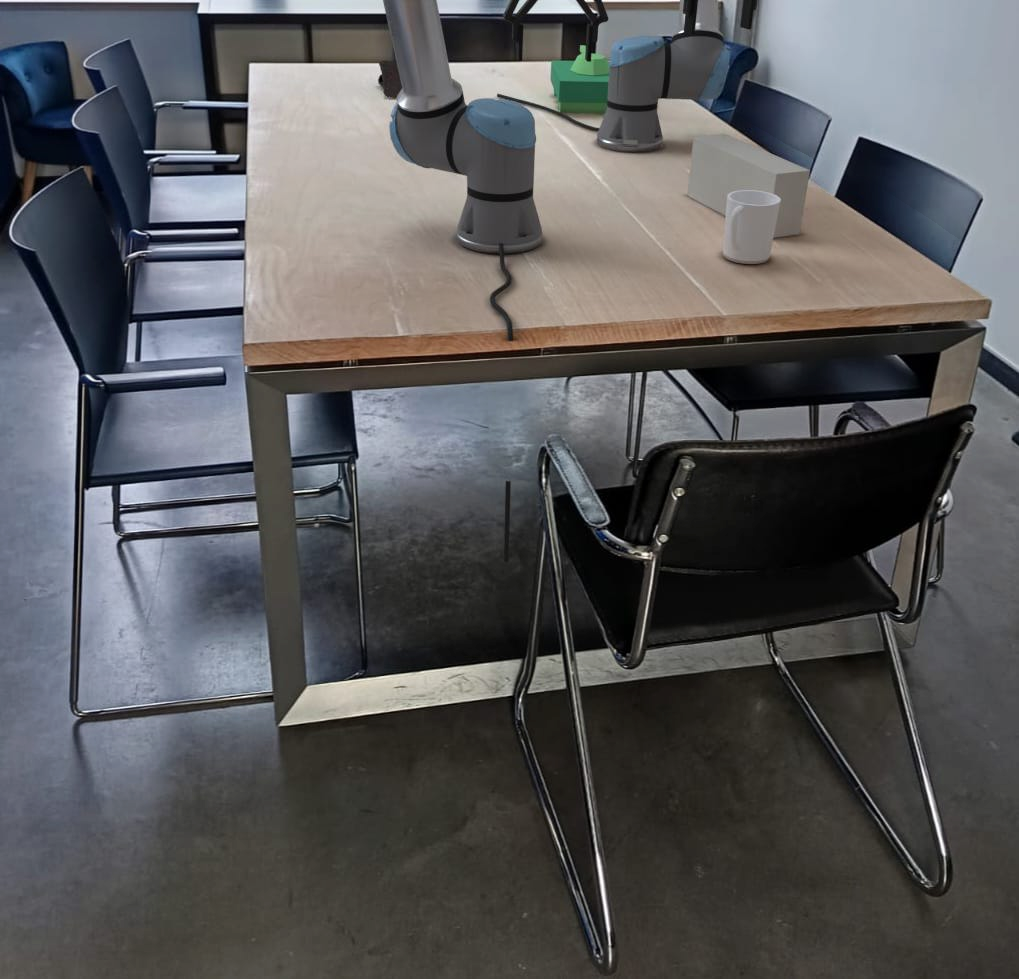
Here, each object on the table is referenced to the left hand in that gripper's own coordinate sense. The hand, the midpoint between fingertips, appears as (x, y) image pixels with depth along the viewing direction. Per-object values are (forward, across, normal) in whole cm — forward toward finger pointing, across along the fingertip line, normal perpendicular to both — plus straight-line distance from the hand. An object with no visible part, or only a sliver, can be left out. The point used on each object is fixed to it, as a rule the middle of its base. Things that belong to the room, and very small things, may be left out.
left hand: (553, 60), depth 216 cm
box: (+24, -35, +23) cm, 48 cm away
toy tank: (+23, -20, -75) cm, 81 cm away
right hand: (-6, -32, 0) cm, 33 cm away
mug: (+24, -28, +48) cm, 60 cm away
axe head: (+24, +29, -89) cm, 96 cm away
